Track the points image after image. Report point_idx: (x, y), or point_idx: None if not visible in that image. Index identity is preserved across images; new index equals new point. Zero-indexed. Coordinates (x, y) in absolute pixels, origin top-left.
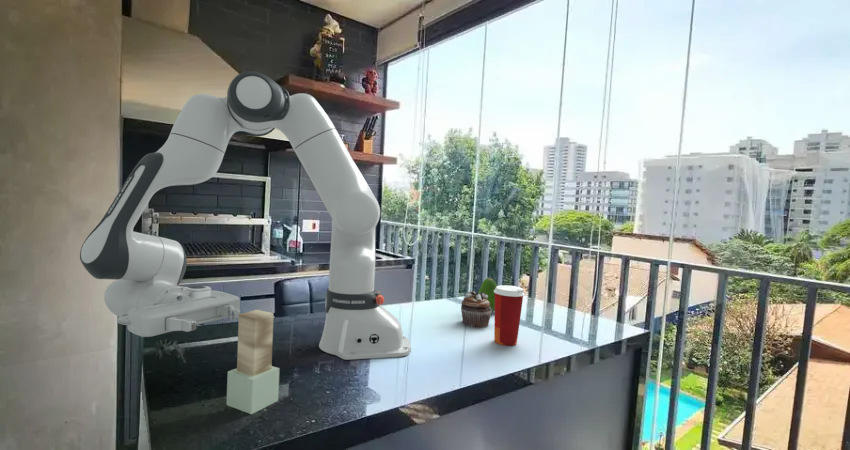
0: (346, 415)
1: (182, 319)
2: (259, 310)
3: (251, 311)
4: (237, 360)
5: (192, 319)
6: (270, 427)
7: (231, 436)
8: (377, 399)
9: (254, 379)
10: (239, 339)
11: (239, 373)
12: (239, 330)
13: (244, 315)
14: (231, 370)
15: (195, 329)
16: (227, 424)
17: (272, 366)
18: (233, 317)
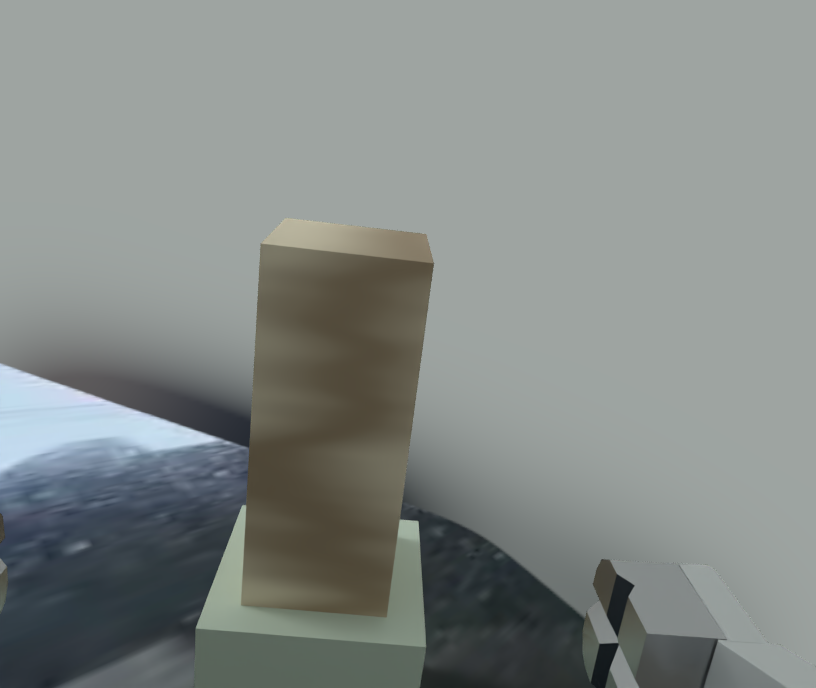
0: (244, 466)
1: (764, 662)
2: (274, 238)
3: (325, 249)
4: (393, 559)
5: (631, 591)
6: (426, 568)
7: (549, 622)
8: (103, 442)
9: (407, 522)
10: (411, 426)
11: (404, 589)
12: (417, 371)
13: (428, 252)
14: (399, 642)
15: (587, 647)
16: (514, 680)
17: (236, 531)
18: (5, 579)
